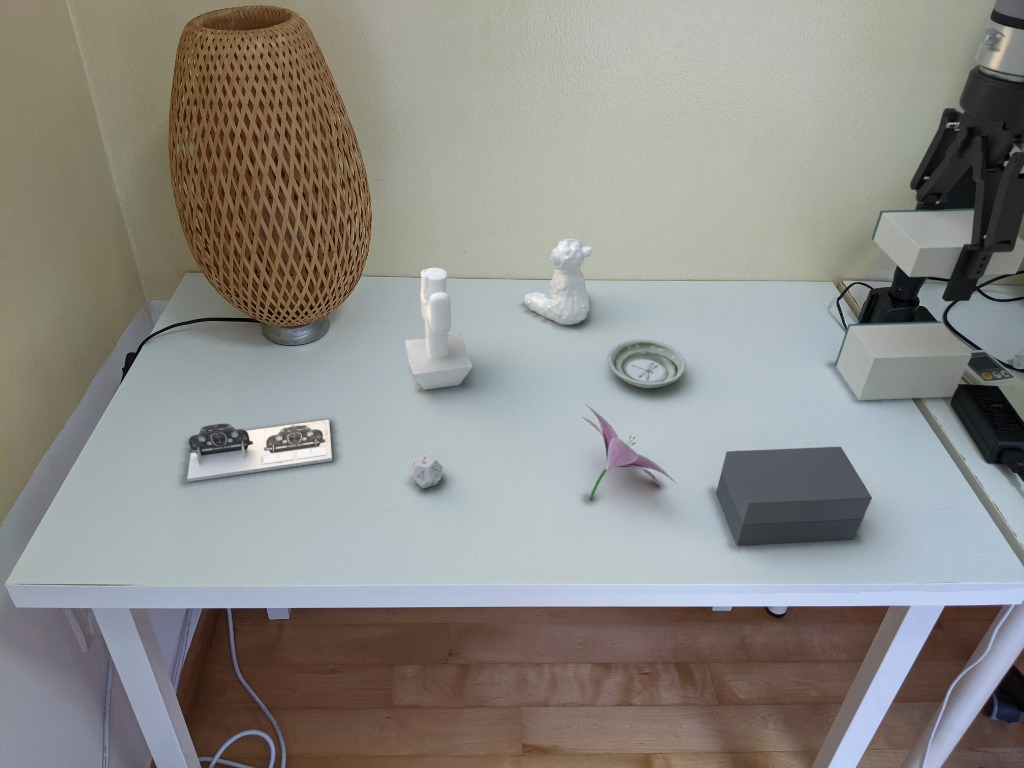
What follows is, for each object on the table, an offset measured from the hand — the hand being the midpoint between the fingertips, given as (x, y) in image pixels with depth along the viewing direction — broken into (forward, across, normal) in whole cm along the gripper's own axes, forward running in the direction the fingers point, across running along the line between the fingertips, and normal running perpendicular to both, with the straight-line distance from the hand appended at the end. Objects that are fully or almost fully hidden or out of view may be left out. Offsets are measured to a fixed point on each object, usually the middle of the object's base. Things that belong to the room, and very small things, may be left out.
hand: (932, 276), depth 88 cm
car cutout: (+16, +8, -76) cm, 78 cm away
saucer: (+16, -4, -31) cm, 35 cm away
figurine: (+16, -5, -57) cm, 59 cm away
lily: (+16, +15, -38) cm, 43 cm away
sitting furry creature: (+16, -19, -39) cm, 46 cm away
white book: (-3, 0, 0) cm, 3 cm away
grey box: (+15, +21, -22) cm, 34 cm away
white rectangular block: (+15, 0, +1) cm, 15 cm away
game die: (+16, +14, -58) cm, 62 cm away
